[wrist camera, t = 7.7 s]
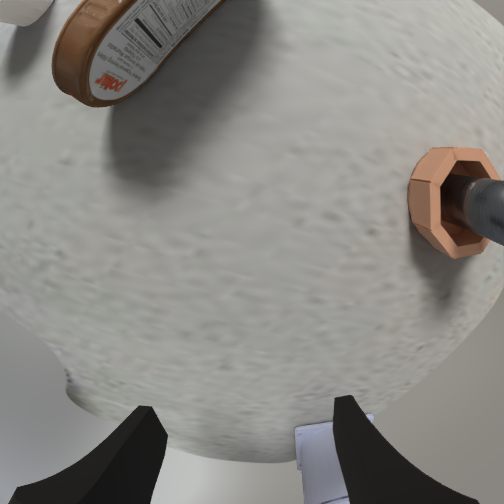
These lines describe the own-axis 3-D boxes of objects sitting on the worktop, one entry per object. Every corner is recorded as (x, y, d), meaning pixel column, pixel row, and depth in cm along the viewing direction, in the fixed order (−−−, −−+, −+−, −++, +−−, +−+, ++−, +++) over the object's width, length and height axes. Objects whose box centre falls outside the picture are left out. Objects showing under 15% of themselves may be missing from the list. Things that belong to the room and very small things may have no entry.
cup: (476, 239, 17) (498, 249, 14) (408, 249, 18) (428, 263, 15) (474, 150, 15) (499, 151, 12) (403, 147, 16) (426, 146, 13)
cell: (465, 220, 16) (541, 251, 9) (431, 223, 17) (510, 259, 9) (465, 173, 15) (546, 187, 8) (431, 173, 16) (515, 185, 8)
